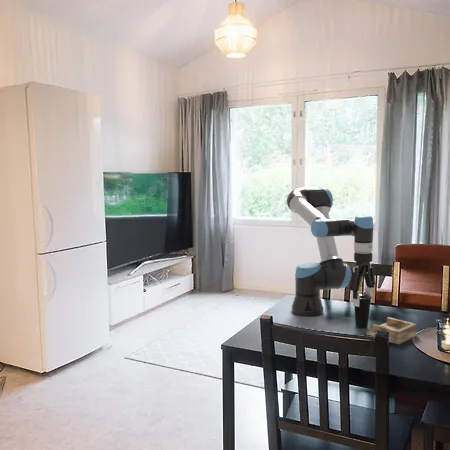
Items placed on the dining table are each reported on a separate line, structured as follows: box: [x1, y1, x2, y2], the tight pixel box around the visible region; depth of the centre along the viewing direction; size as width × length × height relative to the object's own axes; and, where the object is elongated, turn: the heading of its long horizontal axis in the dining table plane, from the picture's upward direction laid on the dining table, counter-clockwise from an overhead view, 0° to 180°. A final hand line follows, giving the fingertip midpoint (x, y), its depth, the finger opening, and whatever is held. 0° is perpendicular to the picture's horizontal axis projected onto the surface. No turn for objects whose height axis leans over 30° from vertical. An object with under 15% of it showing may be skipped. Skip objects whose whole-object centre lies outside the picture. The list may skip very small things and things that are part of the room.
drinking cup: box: [353, 281, 372, 330], centre depth 195 cm, size 8×8×20 cm
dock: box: [366, 316, 418, 345], centre depth 185 cm, size 14×14×5 cm
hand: (362, 303), depth 195 cm, fingers open, 8 cm apart
